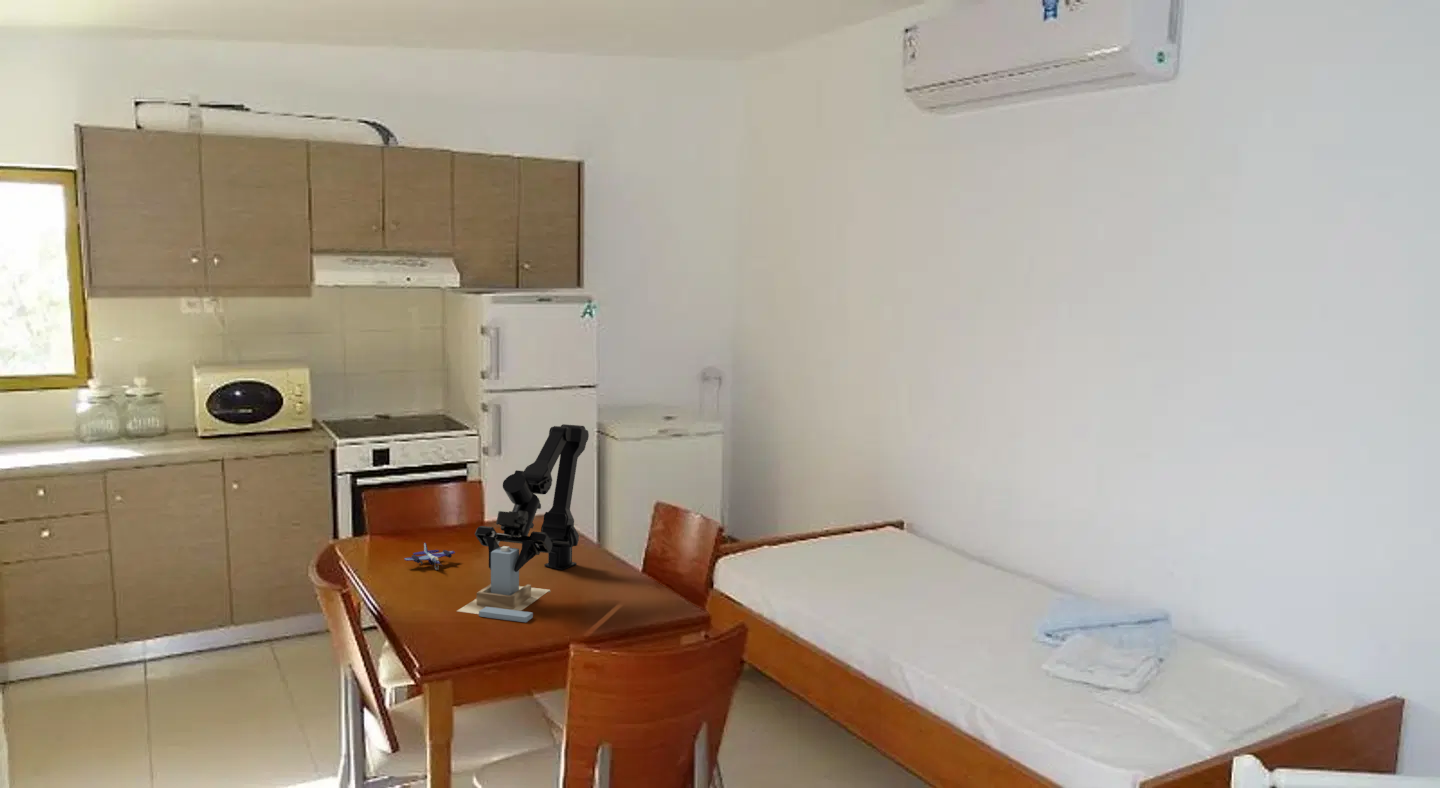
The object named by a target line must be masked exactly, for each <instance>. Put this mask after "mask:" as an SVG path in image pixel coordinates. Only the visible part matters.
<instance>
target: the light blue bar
mask: <svg viewBox="0 0 1440 788" xmlns="http://www.w3.org/2000/svg"><path fill="white" fill-rule="evenodd" d="M533 616H534V612H531V611H524V610H522V611H516V610H509V609H501V608H493V607H485V608H483V609H482V610H480V611H479V614H478V617H483V618H488V619H497V620H502V621H503V620H504V621H511V622H520V623H528V622H529V621H530V620H531V619H533V618H534V617H533Z"/></svg>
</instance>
